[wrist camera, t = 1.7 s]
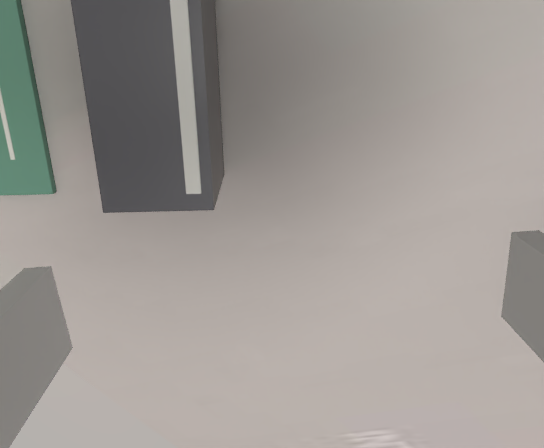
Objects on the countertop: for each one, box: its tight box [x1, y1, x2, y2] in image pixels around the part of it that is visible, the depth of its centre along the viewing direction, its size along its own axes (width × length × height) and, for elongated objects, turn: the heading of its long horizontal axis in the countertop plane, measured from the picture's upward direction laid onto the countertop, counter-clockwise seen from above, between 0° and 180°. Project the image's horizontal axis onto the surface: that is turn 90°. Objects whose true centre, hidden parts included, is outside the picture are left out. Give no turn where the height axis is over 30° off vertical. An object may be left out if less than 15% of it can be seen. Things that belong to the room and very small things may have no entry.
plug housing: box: [71, 0, 224, 213], centre depth 26 cm, size 12×6×8 cm, turn 1°
